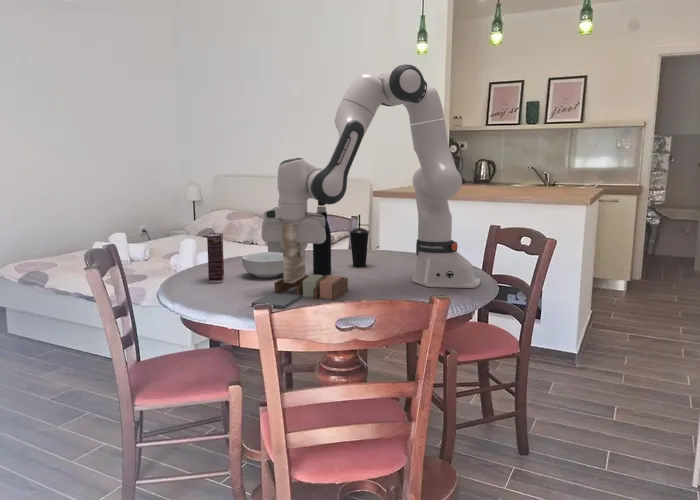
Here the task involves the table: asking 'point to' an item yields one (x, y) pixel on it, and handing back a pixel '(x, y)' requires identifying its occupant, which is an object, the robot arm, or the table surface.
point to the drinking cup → (359, 246)
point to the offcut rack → (336, 289)
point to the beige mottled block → (292, 255)
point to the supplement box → (215, 257)
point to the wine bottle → (322, 248)
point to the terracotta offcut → (328, 286)
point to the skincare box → (275, 247)
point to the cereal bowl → (264, 264)
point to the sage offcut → (311, 284)
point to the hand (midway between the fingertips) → (294, 256)
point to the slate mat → (278, 300)
